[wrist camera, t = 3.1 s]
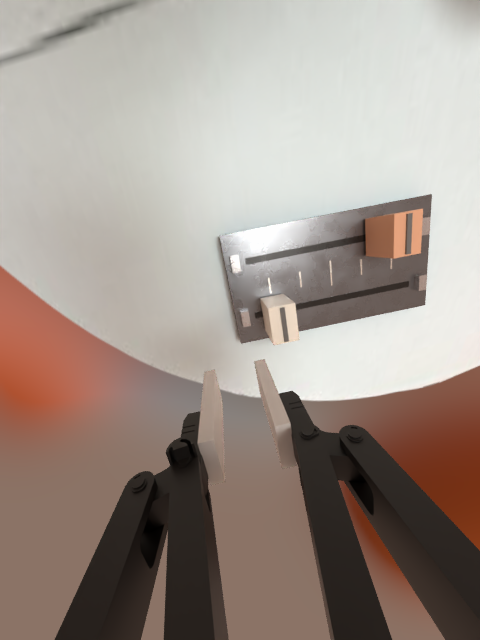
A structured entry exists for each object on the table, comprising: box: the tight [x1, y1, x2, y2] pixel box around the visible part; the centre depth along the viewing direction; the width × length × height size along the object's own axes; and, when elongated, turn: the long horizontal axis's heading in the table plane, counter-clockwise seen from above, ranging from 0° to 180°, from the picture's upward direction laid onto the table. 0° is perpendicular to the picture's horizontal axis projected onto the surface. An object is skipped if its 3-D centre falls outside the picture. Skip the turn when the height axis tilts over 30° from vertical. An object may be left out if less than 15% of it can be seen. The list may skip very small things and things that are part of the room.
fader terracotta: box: [365, 209, 423, 259], centre depth 27 cm, size 3×4×5 cm
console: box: [219, 194, 432, 343], centre depth 31 cm, size 26×14×3 cm, turn 101°
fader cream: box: [260, 294, 299, 345], centre depth 29 cm, size 3×4×5 cm
